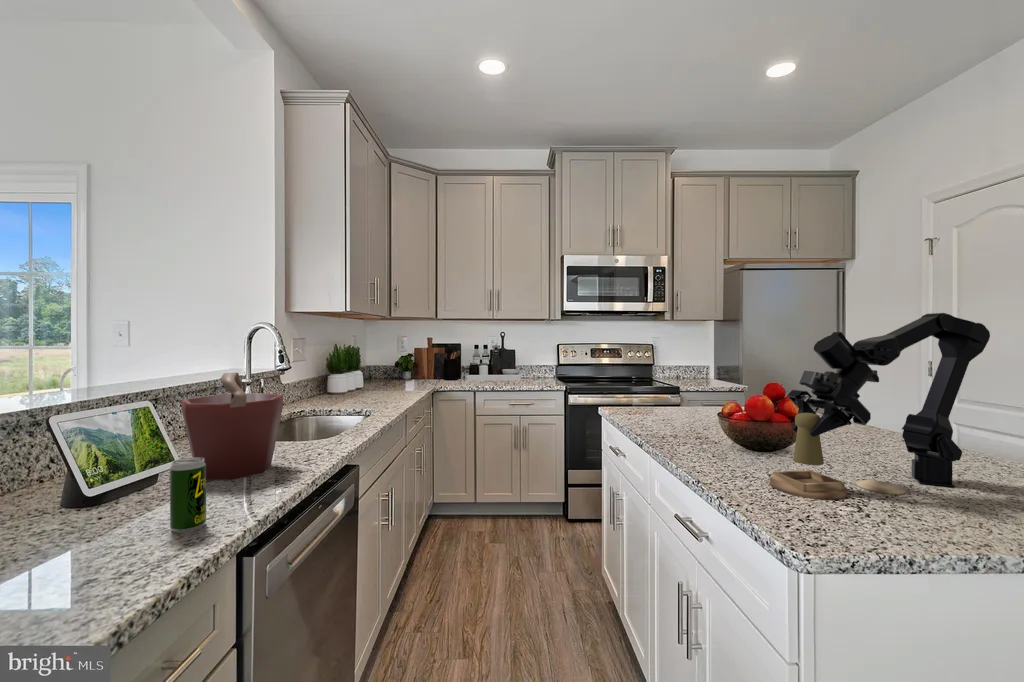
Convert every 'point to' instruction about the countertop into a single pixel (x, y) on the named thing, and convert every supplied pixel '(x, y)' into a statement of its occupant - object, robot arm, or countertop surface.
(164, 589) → the countertop surface
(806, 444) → the pepper shaker
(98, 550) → the countertop surface
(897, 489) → the cork coaster
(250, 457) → the bucket
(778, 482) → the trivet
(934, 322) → the robot arm
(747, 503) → the countertop surface
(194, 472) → the green soda can
